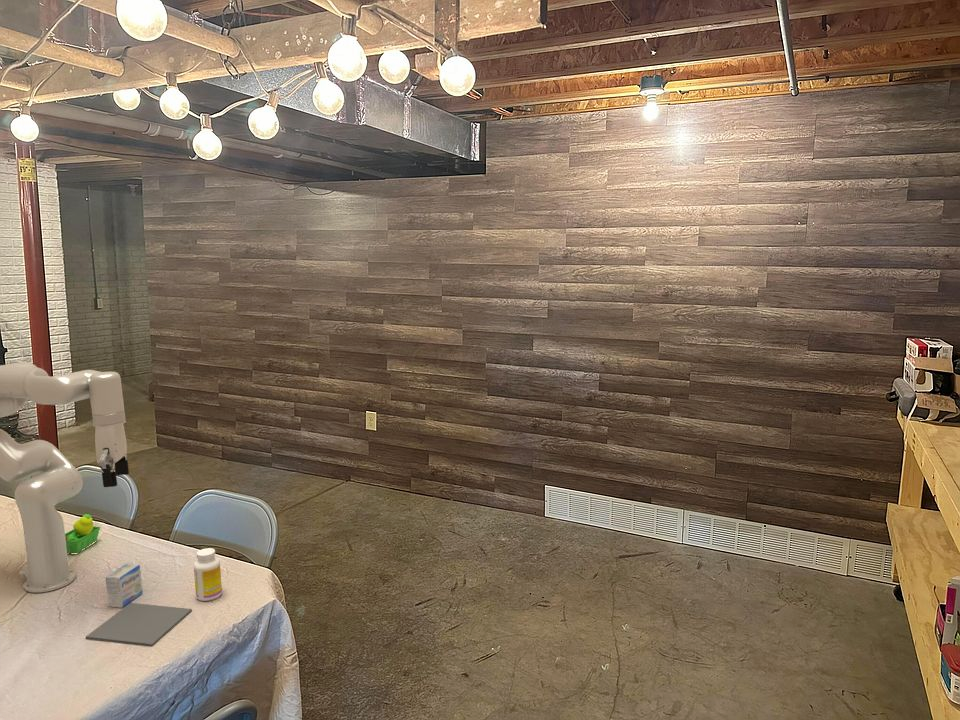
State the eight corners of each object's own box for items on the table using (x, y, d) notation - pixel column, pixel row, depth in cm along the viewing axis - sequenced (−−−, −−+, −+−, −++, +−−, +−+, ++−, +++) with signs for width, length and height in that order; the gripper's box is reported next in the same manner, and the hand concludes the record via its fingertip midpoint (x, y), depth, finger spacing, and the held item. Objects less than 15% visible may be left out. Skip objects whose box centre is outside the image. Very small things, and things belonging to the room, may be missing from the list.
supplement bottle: (227, 591, 185) (224, 548, 183) (210, 603, 179) (207, 558, 177) (207, 587, 187) (204, 544, 185) (190, 599, 181) (187, 555, 179)
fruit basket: (81, 539, 219) (78, 507, 217) (106, 541, 217) (103, 508, 216) (55, 555, 207) (51, 521, 206) (81, 557, 206) (77, 522, 204)
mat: (85, 638, 163) (85, 636, 163) (130, 604, 178) (130, 602, 178) (152, 646, 160) (151, 644, 160) (191, 611, 175) (191, 608, 175)
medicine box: (122, 608, 177) (119, 578, 175) (107, 607, 178) (104, 576, 176) (143, 593, 184) (140, 564, 183) (128, 592, 185) (126, 562, 184)
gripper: (105, 412, 185) (112, 471, 187) (81, 427, 168) (89, 492, 171) (134, 410, 186) (141, 469, 189) (113, 425, 169) (121, 490, 172)
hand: (116, 480), depth 180 cm, fingers open, 9 cm apart
